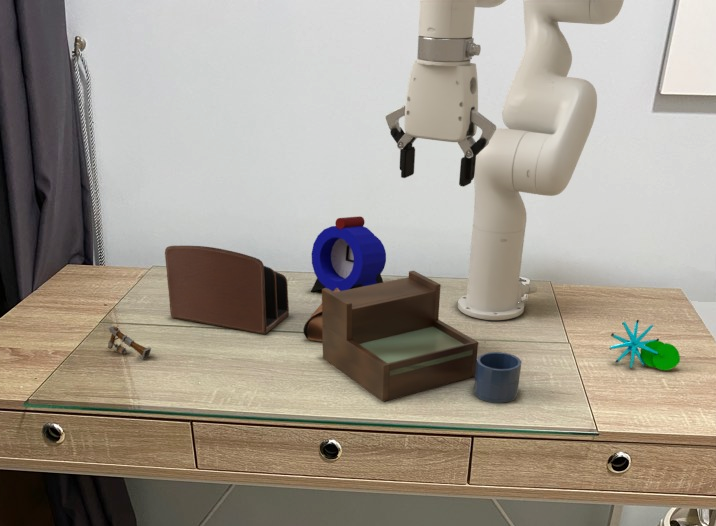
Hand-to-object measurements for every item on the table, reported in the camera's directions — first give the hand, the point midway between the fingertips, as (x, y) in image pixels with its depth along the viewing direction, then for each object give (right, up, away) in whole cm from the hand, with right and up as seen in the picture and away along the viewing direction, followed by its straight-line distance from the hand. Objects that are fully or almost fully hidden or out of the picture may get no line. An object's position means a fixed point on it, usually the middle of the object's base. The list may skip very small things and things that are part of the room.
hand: (435, 180), depth 131 cm
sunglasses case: (-15, -15, +28) cm, 35 cm away
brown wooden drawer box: (-5, -26, +13) cm, 29 cm away
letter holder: (-36, -13, +30) cm, 49 cm away
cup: (+10, -31, +6) cm, 33 cm away
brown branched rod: (-51, -23, +16) cm, 58 cm away
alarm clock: (-13, -5, +43) cm, 45 cm away
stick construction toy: (+36, -24, +16) cm, 47 cm away
